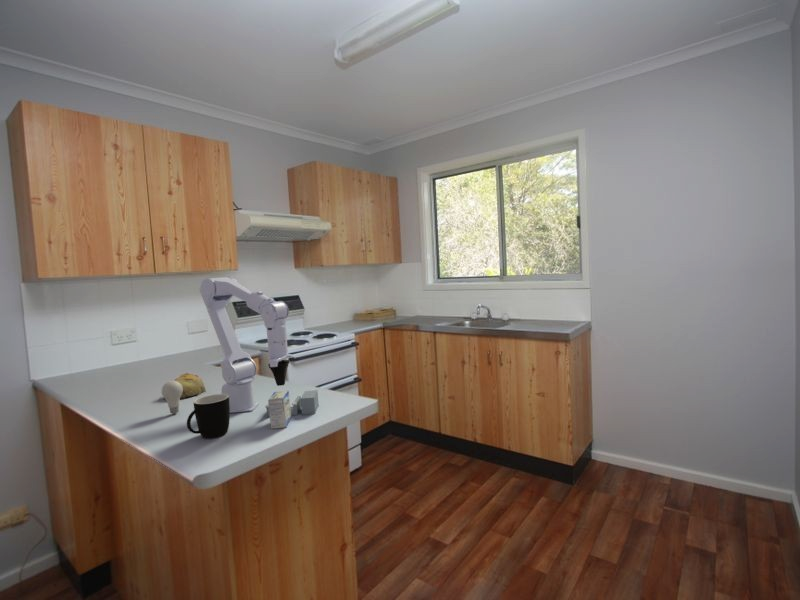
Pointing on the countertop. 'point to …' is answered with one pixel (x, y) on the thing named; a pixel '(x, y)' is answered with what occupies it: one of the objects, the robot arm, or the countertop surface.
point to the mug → (211, 415)
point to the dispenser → (303, 403)
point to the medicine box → (279, 409)
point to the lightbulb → (172, 395)
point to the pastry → (191, 385)
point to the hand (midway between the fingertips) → (280, 384)
